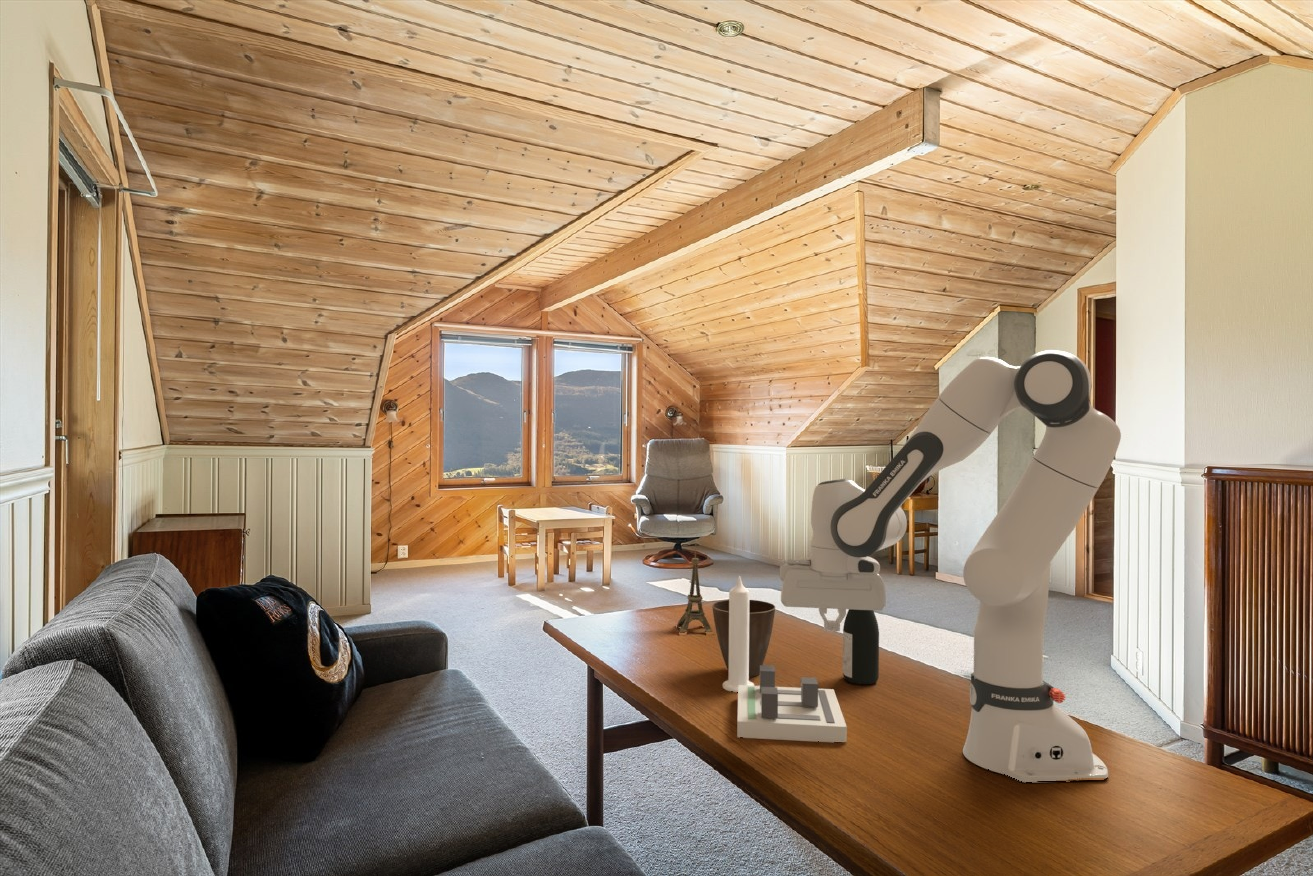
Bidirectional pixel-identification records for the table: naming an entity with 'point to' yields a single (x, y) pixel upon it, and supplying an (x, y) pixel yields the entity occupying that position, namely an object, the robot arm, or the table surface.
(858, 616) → the wine bottle
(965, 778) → the table surface
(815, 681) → the handle
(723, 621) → the plant pot
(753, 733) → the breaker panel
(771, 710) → the handle
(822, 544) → the robot arm
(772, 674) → the handle
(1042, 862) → the table surface
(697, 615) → the eiffel tower
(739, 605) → the candle
